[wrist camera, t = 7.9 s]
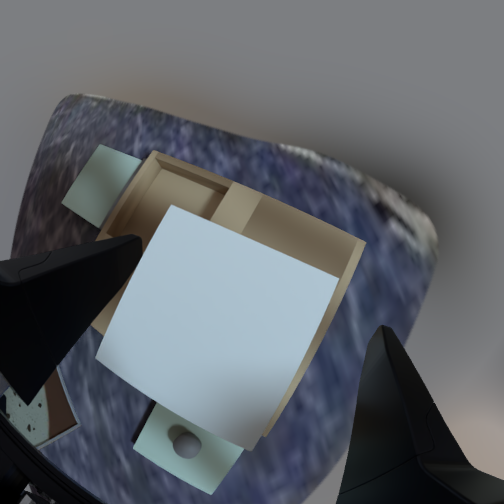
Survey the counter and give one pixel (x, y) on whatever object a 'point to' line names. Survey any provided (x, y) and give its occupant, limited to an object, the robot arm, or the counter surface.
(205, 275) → the tall white block
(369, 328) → the counter surface
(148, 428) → the puzzle board
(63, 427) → the food container
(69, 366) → the counter surface
